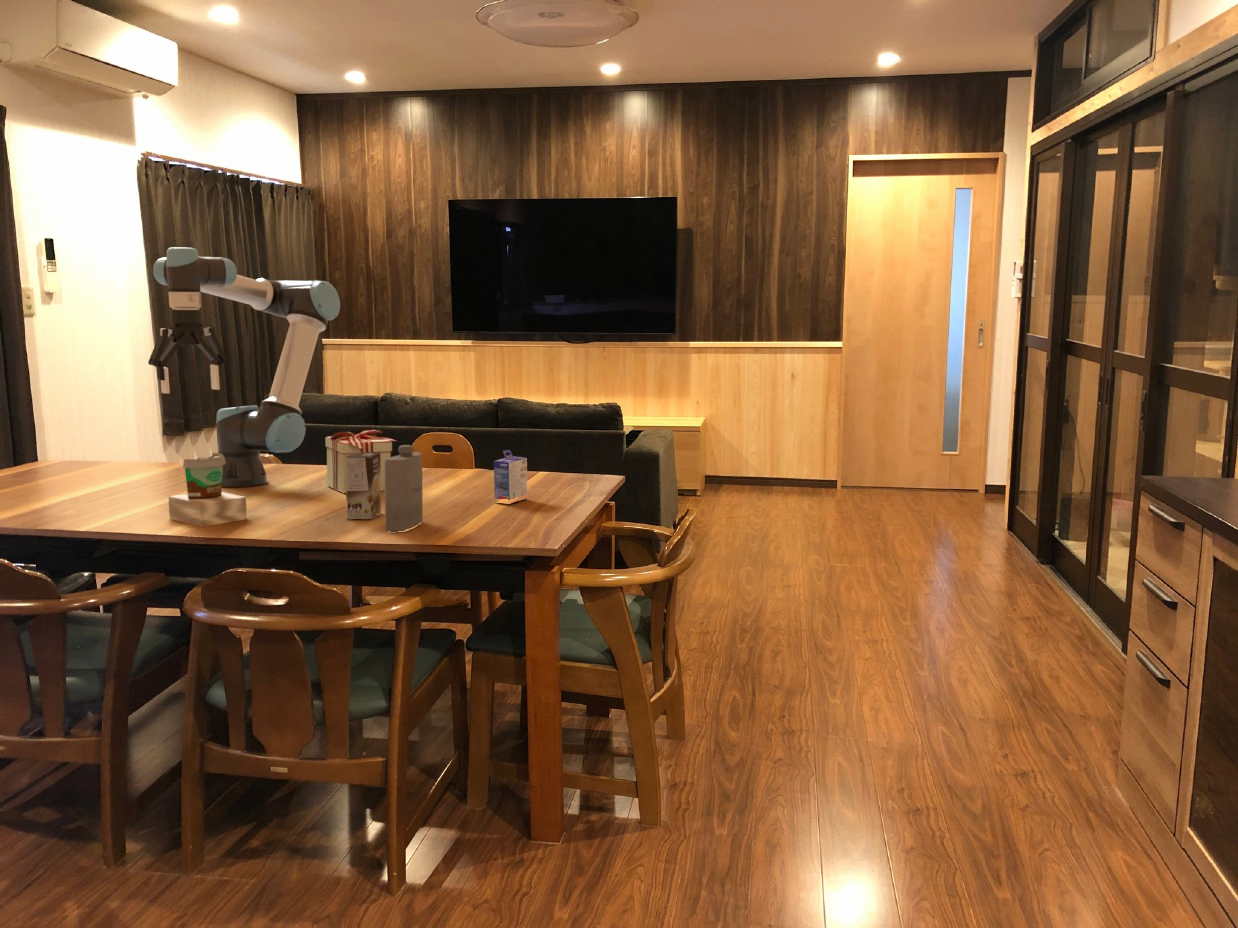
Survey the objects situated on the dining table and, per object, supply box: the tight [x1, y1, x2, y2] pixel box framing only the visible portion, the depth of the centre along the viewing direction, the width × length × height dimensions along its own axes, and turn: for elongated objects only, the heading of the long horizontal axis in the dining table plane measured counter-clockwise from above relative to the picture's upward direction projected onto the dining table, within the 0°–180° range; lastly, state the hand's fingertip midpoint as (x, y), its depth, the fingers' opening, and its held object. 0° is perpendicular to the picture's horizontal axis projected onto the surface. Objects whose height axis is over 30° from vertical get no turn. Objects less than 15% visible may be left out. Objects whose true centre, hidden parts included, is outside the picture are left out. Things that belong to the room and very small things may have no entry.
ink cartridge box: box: [493, 449, 528, 500], centre depth 266 cm, size 10×6×14 cm, turn 155°
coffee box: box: [346, 452, 382, 520], centre depth 241 cm, size 9×6×16 cm
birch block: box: [168, 491, 248, 528], centre depth 235 cm, size 12×14×6 cm
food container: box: [182, 452, 226, 499], centre depth 234 cm, size 12×6×10 cm, turn 169°
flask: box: [384, 444, 424, 532], centre depth 230 cm, size 15×6×20 cm, turn 170°
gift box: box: [324, 429, 397, 494], centre depth 280 cm, size 17×18×17 cm
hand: (191, 391), depth 248 cm, fingers open, 13 cm apart
